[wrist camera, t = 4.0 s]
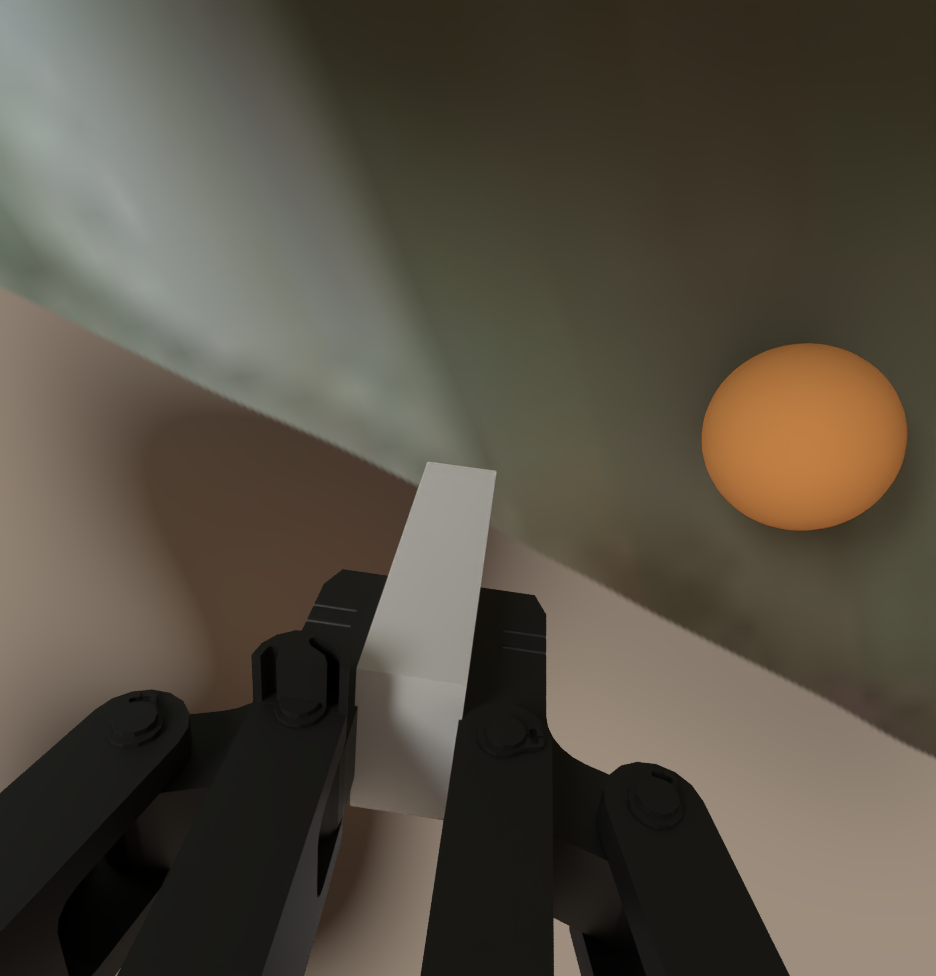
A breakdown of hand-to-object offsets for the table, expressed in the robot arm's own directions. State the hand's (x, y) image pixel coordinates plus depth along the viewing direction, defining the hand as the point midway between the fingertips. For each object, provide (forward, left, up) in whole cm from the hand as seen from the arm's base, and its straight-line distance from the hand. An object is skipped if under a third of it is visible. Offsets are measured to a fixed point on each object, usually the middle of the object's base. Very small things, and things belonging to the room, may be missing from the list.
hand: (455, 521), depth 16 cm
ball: (+9, 0, -7) cm, 12 cm away
